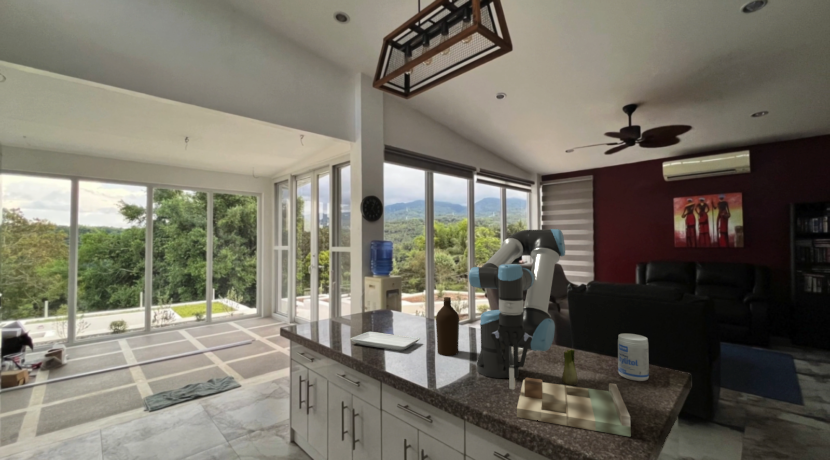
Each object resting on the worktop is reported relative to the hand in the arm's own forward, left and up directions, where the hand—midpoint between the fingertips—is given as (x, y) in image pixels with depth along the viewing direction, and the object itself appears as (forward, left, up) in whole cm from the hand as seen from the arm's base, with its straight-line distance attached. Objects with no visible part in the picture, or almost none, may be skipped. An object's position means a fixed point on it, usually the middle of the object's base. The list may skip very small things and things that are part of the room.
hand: (512, 387), depth 110 cm
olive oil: (-33, +38, -4) cm, 50 cm away
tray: (-66, +40, -4) cm, 77 cm away
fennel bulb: (+17, +19, -4) cm, 26 cm away
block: (+6, 0, -1) cm, 7 cm away
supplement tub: (+39, +35, -4) cm, 53 cm away
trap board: (+16, 0, -4) cm, 17 cm away
